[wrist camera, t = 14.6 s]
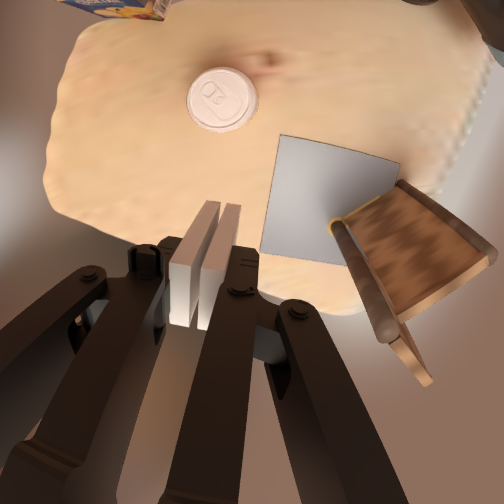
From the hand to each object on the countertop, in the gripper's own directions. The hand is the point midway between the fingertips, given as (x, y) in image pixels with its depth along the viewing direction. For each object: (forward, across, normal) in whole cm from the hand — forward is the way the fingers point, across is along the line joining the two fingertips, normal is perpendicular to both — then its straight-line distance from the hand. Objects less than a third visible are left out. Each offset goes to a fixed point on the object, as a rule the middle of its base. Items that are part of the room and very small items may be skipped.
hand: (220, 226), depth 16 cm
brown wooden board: (+30, +22, -15) cm, 40 cm away
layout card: (+30, +14, -7) cm, 34 cm away
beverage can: (+31, -4, +7) cm, 32 cm away
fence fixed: (+30, +21, -5) cm, 37 cm away
